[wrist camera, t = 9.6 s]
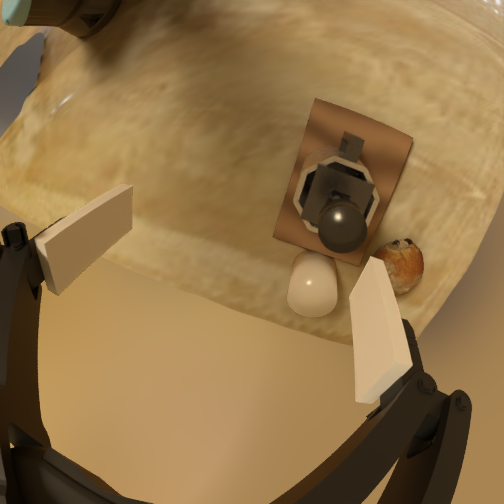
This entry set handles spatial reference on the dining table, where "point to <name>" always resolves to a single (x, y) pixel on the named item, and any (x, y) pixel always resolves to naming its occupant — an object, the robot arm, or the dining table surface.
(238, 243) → the dining table surface
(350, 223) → the plunger
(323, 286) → the cream egg shape
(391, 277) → the bread roll
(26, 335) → the robot arm
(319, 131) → the board
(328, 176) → the grey faceted handled container
